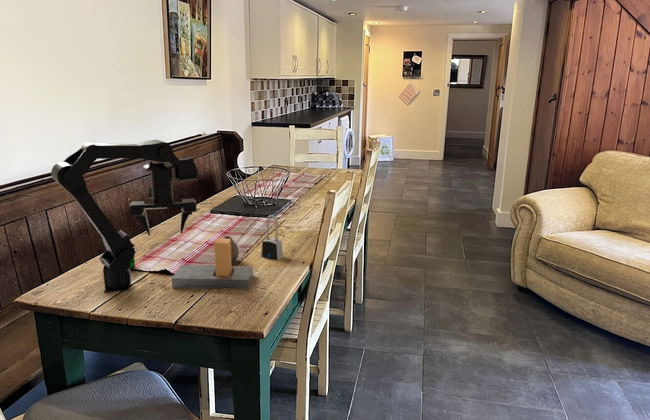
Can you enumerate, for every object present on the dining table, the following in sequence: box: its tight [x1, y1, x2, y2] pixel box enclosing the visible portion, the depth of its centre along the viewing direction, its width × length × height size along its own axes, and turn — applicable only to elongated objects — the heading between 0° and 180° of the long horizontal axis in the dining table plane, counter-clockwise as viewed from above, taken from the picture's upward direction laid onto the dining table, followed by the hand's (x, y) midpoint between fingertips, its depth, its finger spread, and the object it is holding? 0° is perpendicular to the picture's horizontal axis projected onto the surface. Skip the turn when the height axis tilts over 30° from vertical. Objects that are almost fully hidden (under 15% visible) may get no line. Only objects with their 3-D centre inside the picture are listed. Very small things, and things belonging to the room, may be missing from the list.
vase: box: [222, 235, 239, 265], centre depth 157 cm, size 7×7×9 cm
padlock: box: [260, 214, 284, 261], centre depth 162 cm, size 7×4×15 cm, turn 65°
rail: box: [171, 264, 254, 290], centre depth 144 cm, size 22×10×3 cm, turn 91°
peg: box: [214, 238, 233, 276], centre depth 142 cm, size 4×4×13 cm
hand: (165, 234), depth 145 cm, fingers open, 9 cm apart
